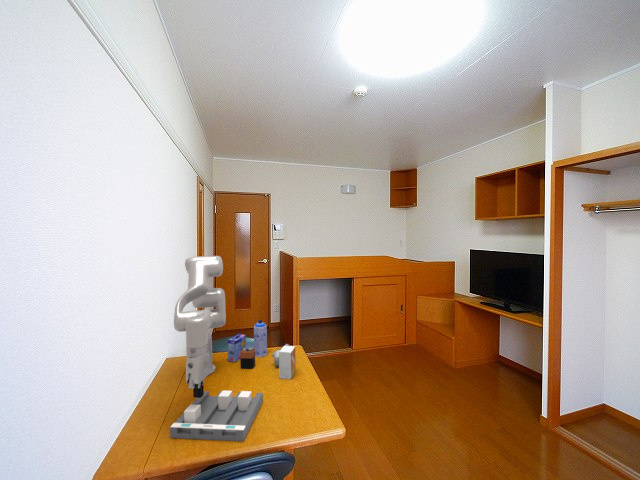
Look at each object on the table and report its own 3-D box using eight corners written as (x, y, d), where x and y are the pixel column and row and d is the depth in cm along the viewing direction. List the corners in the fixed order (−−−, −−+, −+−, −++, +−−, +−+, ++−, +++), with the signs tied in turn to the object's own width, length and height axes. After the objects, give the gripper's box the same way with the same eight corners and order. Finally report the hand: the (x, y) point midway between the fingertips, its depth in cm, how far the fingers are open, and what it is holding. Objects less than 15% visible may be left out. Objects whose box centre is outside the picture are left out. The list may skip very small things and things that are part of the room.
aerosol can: (270, 352, 159) (269, 319, 159) (262, 358, 152) (261, 323, 152) (259, 350, 163) (258, 317, 163) (251, 355, 155) (250, 321, 155)
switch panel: (170, 437, 92) (170, 426, 92) (203, 399, 114) (203, 390, 114) (243, 441, 89) (243, 429, 89) (262, 401, 111) (262, 392, 111)
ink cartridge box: (235, 362, 147) (235, 336, 147) (227, 361, 149) (226, 335, 149) (246, 355, 156) (245, 330, 156) (238, 354, 158) (238, 329, 158)
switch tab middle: (218, 409, 104) (218, 396, 104) (222, 403, 108) (222, 390, 108) (228, 410, 103) (228, 396, 103) (232, 403, 107) (232, 390, 107)
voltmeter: (297, 368, 140) (297, 349, 140) (276, 373, 135) (276, 353, 135) (282, 349, 164) (281, 333, 164) (263, 353, 159) (263, 336, 159)
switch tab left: (184, 426, 95) (184, 411, 95) (190, 418, 99) (190, 404, 99) (195, 426, 94) (194, 411, 94) (201, 419, 98) (200, 404, 98)
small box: (291, 379, 128) (291, 352, 128) (278, 378, 129) (278, 351, 129) (296, 371, 136) (295, 346, 136) (284, 370, 137) (283, 345, 137)
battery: (252, 369, 139) (252, 350, 139) (240, 369, 140) (239, 350, 140) (255, 365, 144) (255, 346, 144) (243, 365, 144) (242, 346, 144)
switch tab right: (238, 410, 103) (238, 396, 103) (242, 404, 107) (241, 391, 107) (248, 410, 103) (248, 397, 103) (251, 404, 107) (251, 391, 107)
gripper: (196, 358, 93) (197, 410, 94) (216, 341, 108) (217, 385, 108) (175, 358, 94) (177, 409, 94) (198, 340, 108) (199, 384, 109)
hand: (198, 396), depth 101 cm, fingers closed
